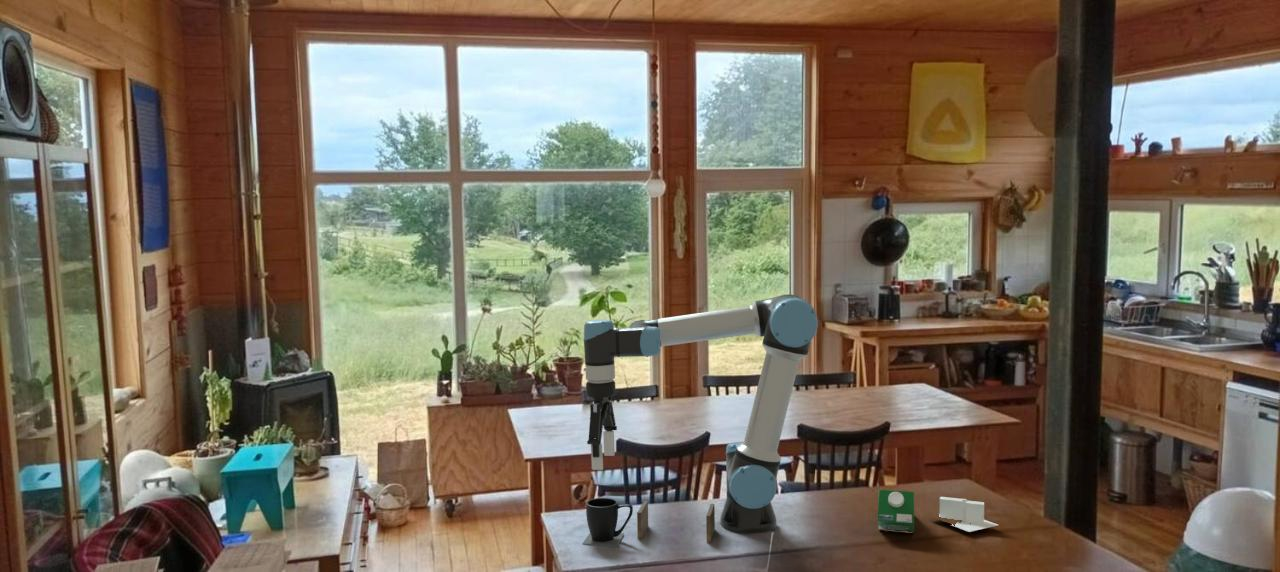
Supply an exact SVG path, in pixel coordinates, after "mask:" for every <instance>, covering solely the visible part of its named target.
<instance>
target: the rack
mask: <svg viewBox="0 0 1280 572" xmlns="http://www.w3.org/2000/svg"><path fill="white" fill-rule="evenodd" d="M715 511H716V510H715V503H710V505H709V508H708V510H707V513H706V515H705V516H706V521H705V522H706V526H705V527H706V543H707V544H708V543H711V542H712V539H713V536H714V533H715V531H716V525H715V522H716V517H715ZM636 518H637V519H636V520H637V521H636V522H637V524H636V525H637V539H638V540H642V539H643V537H644V535H645V533H646V531H647V530H648V528H649V501H648V500H644V501H643V502H642V504H641V505H640V508H638V510H637V515H636Z"/></svg>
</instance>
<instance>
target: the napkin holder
mask: <svg viewBox="0 0 1280 572" xmlns="http://www.w3.org/2000/svg"><path fill="white" fill-rule="evenodd" d="M938 514H939V517H941V518H947V519H954V520H962V522H961V523H959V522H957V523H956V524H955V526H954V525H953V524H952V525H951V526H952V527H955V528H958V529H960V530H963V531H965V532H969V533H971V532H975V531H978V530H983V529H988V528H989V529H990V528H993V527H996V526H999V523H998V524H997V523H994V522H992V521H989V520H987V519H985V502H983V501H974V500H968V499H967V498H960V497H959V498H958V497H956V498H955V497H947V496H940V497H939V513H938ZM970 523H971V524H970Z"/></svg>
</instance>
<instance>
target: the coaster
mask: <svg viewBox="0 0 1280 572" xmlns="http://www.w3.org/2000/svg"><path fill="white" fill-rule="evenodd" d="M624 536H625V533H624V532H623V533H622V532H621V533H620V535H618V536H617V537H614V538H613V539H612V540H611V541H607V542H597V541H594V540H592V536H591V533H590V532H589V533H588V535H587V536H586V538H585V539H584V540H583V542H582V544H587V545H586V546H595V545H596V547H608V546H609V547H610V548H611V547H612V548H617V547H618V546H619V544H620V543H621V541H622V539H623V538H624ZM588 544H589V545H588ZM609 547H608V548H609Z"/></svg>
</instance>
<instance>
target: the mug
mask: <svg viewBox="0 0 1280 572" xmlns="http://www.w3.org/2000/svg"><path fill="white" fill-rule="evenodd" d="M620 508H629V513H628V516H627V518H626V520H625V522H624V523H623V524H622V526H621V527H620V528H619V529H618V530H616V529H617V525H618V520H619V519H618V518H619V509H620ZM633 508H634V507H633V505H632V504H629V503H624V504H619V502H618V500H617V499H614V498H612V497H611V498H610V497H596V498H595V497H594V498H592V499H589V500H587V501H586V504H585V511H586V512H585V513H586V522H587V525H588V530H589V534H590V533H591V536H592V540H594V541H597V542H607V541H611V540H612V539H613V538H614V537H617V536H618V535H620V533H622V532H623V531H624V529H625V528H626V525H627V524H628V523H629V521H630V519H631V517H632V516H633V512H634V509H633Z"/></svg>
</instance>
